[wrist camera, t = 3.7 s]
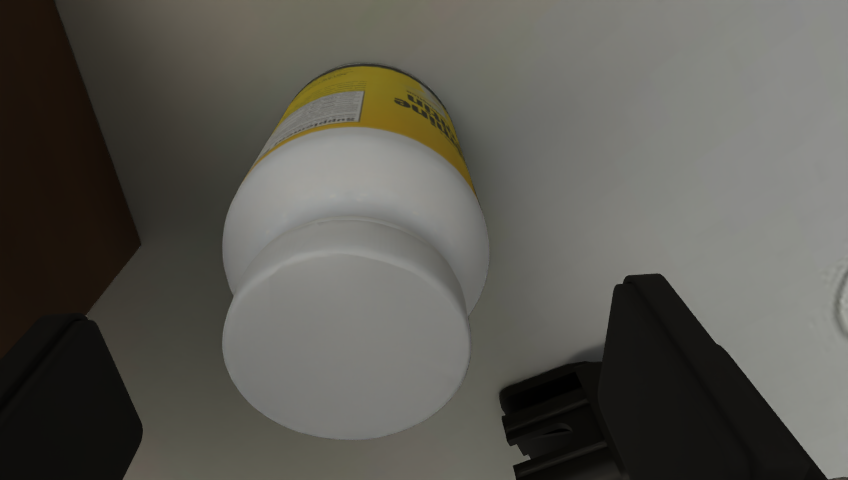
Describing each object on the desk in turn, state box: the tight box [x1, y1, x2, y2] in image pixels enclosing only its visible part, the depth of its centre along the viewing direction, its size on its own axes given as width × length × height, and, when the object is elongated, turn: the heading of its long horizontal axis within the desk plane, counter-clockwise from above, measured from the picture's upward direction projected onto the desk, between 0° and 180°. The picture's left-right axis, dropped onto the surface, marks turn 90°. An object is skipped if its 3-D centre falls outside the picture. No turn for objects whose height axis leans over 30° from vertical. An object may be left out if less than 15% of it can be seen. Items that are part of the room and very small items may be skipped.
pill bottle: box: [222, 63, 489, 440], centre depth 15 cm, size 6×6×12 cm
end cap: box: [499, 361, 630, 480], centre depth 25 cm, size 10×7×7 cm
